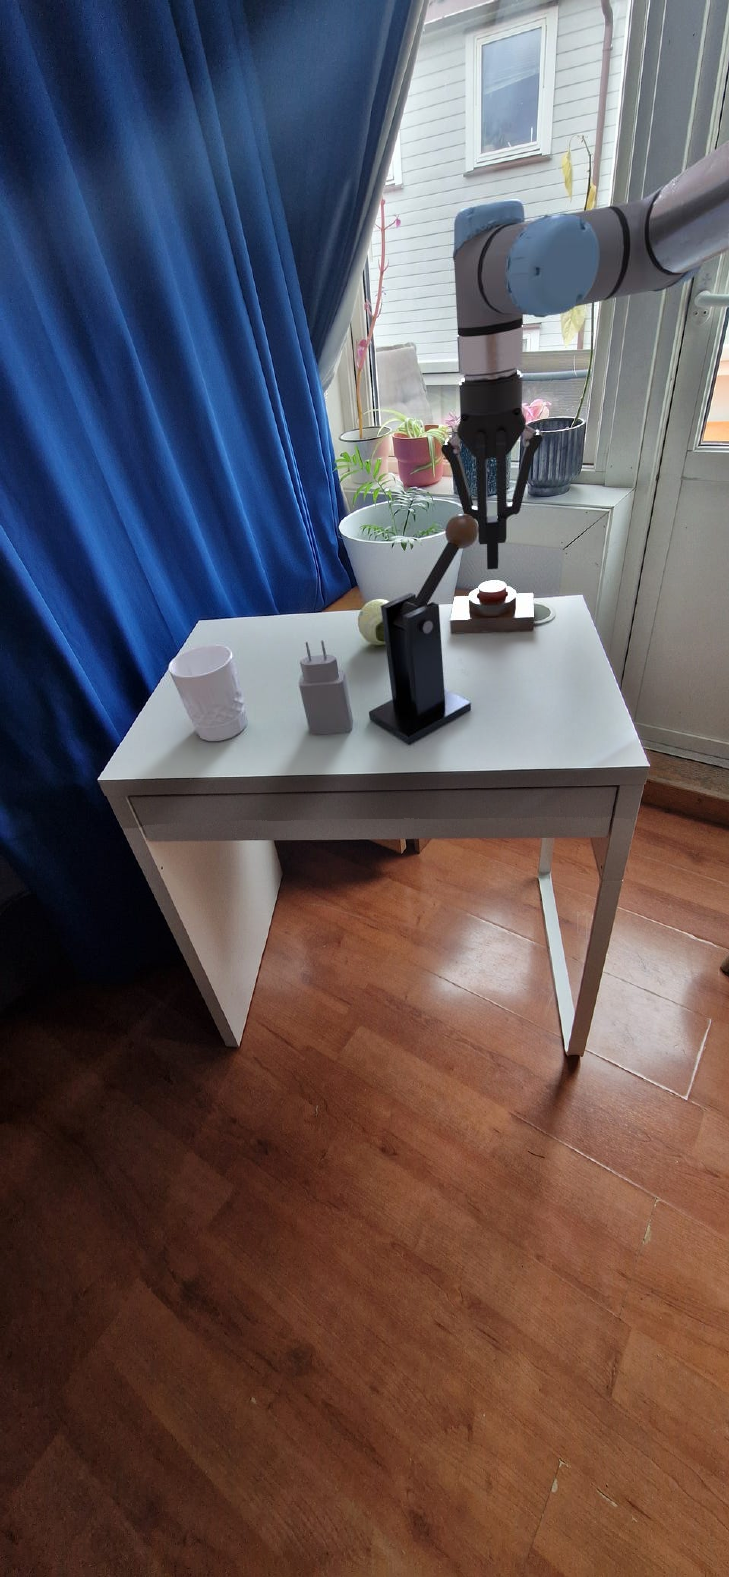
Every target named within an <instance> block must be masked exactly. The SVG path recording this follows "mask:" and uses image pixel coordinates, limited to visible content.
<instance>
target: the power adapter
mask: <svg viewBox="0 0 729 1577" xmlns="http://www.w3.org/2000/svg"><path fill="white" fill-rule="evenodd" d="M320 643H321V644H320V645H321V650H322V654H321V655H311V650H310V647H309V642H308V641H305V648H306V653H307V656H306V657H304V658H302V659H301V660H299V664H300V668H301V673H302V674H301V675H300V676H299V679H298V680H299V681H298V687H299V691H300V696H301V700H302V705H303V709H304V714H305V718H306V722H307V726H308V727H307V728H308V730H309V734H310V735H312V736H318V735H319V736H321V735H335V734H337V735H338V734H347V733H350V732H351V731H352V730H353V726H354V725H353V724H354V718H353V712H352V707H351V702H350V701H351V700H350V696H349V690H348V685H347V679H346V672H345V671H344V670H343V669H339V665H338V659H337V657H336V656H334V655H332V654H327V652H326V647H325V643H324V640H320Z"/></svg>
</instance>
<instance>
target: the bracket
mask: <svg viewBox="0 0 729 1577" xmlns="http://www.w3.org/2000/svg"><path fill="white" fill-rule="evenodd" d="M416 597H417V595H416V594H415V593H413V592H408V593H406V594H404V595H402V596H400V597H397V598H395V599H393V600H390V601H389V602H388V603H386V604H384V605H382V606H381V612H382V620H383V628H384V636H385V644H384V645H385V651H386V659H387V667H388V676H389V685H390V692H391V699H390V700H389V701H386V702H384V703H383V704H381V705H379V706H377V707H375V708H373V709H371V710H370V711H368V716H369V718H368V719H369V720H370V721H371V722H372V723H374V724H376V725H377V726H379V727H380V728H382V729H384V730H385V731H386V732H388V733H390V735H393V736H394V737H396V738H397V739H399V740H400V741H402V742H403V743H405V744H406V745H408V746H411V745H412V744H415V743H416V742H418V741H420V740H421V739H423V738H425V737H427V736H428V735H430V734H432V733H435V731H438V730H439V729H441V728H443V727H444V726H446V725H448V724H450V723H451V722H453V721H455V720H457V719H459V718H461V717H462V716H464V715H466V714H467V713H469V712H471V711H472V703H471V701H468V700H467V699H465V698H463V697H461V696H459V695H458V694H456V693H454V692H452V691H449V690H448V689H446V688H445V680H444V679H445V676H444V663H443V648H442V647H443V645H442V630H441V617H440V616H441V614H440V604H439V603H437V602H435V601H432V602H430V603H429V602H428V604H427V605H425V606H423V607H421V608H419V609H416V610H414V611H412V612H410V613H408V614H406V615H404V616H403V622H404V631H405V632H404V631H402V630H401V629H400V628H398V627H397V626H395V625H394V624H393V622H394V620H395V618H396V616H397V615H398V613H399V611H400V609H401V608H402V606H403V604H404V602H408V603H410V604H413V602H414V601H415V599H416Z"/></svg>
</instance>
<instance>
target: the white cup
mask: <svg viewBox="0 0 729 1577" xmlns="http://www.w3.org/2000/svg"><path fill="white" fill-rule="evenodd" d="M168 671H169V674H170V677H171V679H172V681H173V684H174V686H175V688H176V690H177V694H178V695H179V698H180V700H181V702H182V704H183V707H184V709H185V711H186V713H187V715H188V718H189V719H190V721H191V723H192V725H193V728H194V730H195V733H196V734H197V735H198V737H199V738H200V739H201V740H204V741H208V742H223V741H225V740H229V739H232V738H233V737H236V736H237V735H238V734H240V733H242V732H243V730H244V729H245V728H246V727H247V722H248V718H247V714H246V709H245V706H244V704H245V703H244V698H243V694H242V689H241V685H240V680H239V677H238V671H237V668H236V665H235V660H234V656H233V652H232V650H231V649H230V648H229V647H227V646H225V645H221V644H205V645H199V646H195V647H192V648H189V649H187V650H185V651H182V652H181V653H179V654H178V655H176V656H175V657H174V658H173V659H172V660H171V661H170V662H169V664H168Z"/></svg>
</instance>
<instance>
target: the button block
mask: <svg viewBox="0 0 729 1577" xmlns="http://www.w3.org/2000/svg"><path fill="white" fill-rule="evenodd" d="M534 597H535V596H534V593H533V592H530V593H529V592H528V593H517V590H515V589H514V588H512V587H511V586H507V585H506V598H505V599H503V600H500V601H497V602H485V601H480V600H479V587H478V588H475V589H474V590H471V591H470V592H469V594H468V596H465V595H463V596H454V598H453V604H452V608H451V614H450V619H449V625H450V626H449V627H450V628H449V629H450V634H474V633H475V634H477V633H478V634H479V633H503V632H506V633H507V632H530V631H531V632H533V631H534V629H535V628H534V627H535V626H534V625H535V599H534Z"/></svg>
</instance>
